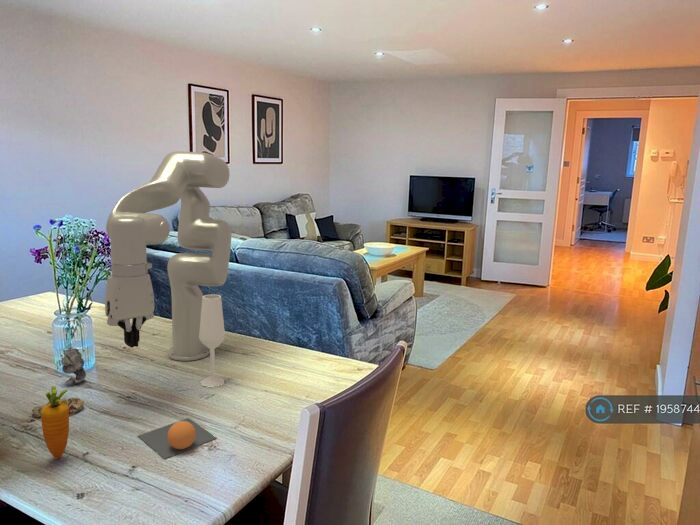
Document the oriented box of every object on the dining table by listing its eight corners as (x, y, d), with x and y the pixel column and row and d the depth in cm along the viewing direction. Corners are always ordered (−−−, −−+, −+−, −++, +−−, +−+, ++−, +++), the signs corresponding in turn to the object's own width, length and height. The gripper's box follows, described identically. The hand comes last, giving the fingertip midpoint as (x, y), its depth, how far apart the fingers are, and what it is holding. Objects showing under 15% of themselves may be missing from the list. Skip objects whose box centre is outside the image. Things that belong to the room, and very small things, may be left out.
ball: (202, 431, 106) (197, 450, 108) (191, 412, 109) (186, 430, 112) (175, 439, 102) (171, 458, 105) (165, 419, 106) (161, 438, 108)
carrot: (51, 452, 104) (46, 382, 101) (76, 452, 104) (72, 382, 101) (38, 466, 99) (33, 393, 96) (65, 466, 99) (60, 393, 97)
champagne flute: (230, 382, 140) (230, 297, 136) (208, 389, 135) (207, 301, 131) (216, 375, 144) (215, 292, 140) (194, 381, 140) (193, 296, 135)
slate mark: (188, 418, 120) (188, 417, 120) (216, 438, 112) (216, 437, 112) (137, 436, 111) (137, 435, 111) (164, 459, 103) (164, 458, 103)
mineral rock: (83, 391, 127) (83, 396, 120) (84, 409, 126) (85, 415, 119) (32, 401, 121) (29, 406, 114) (33, 419, 121) (31, 426, 114)
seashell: (76, 388, 133) (74, 351, 131) (58, 385, 134) (56, 349, 132) (90, 380, 138) (88, 344, 136) (73, 377, 139) (71, 342, 137)
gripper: (152, 264, 127) (154, 335, 131) (89, 271, 116) (93, 348, 120) (167, 269, 122) (169, 342, 125) (102, 276, 111) (106, 357, 115)
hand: (132, 345), depth 123 cm, fingers closed
